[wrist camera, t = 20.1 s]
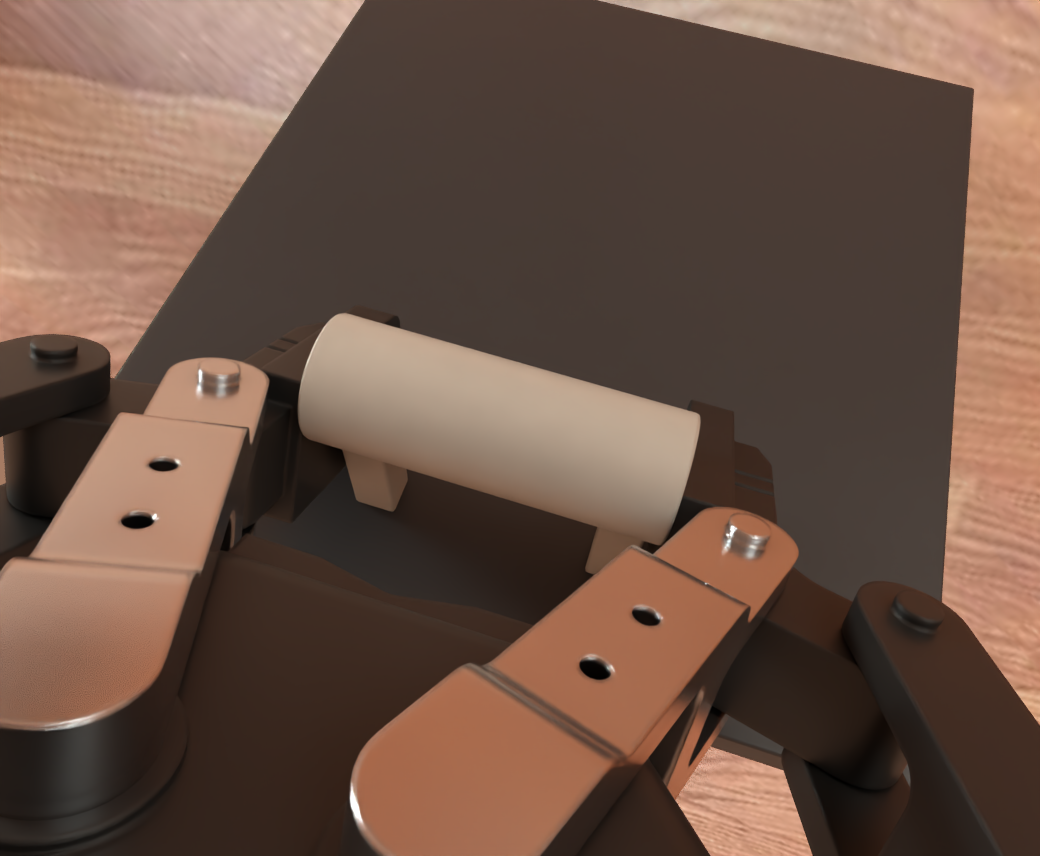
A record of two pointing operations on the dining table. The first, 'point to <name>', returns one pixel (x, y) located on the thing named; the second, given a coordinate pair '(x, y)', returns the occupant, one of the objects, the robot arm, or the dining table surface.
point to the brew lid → (597, 296)
